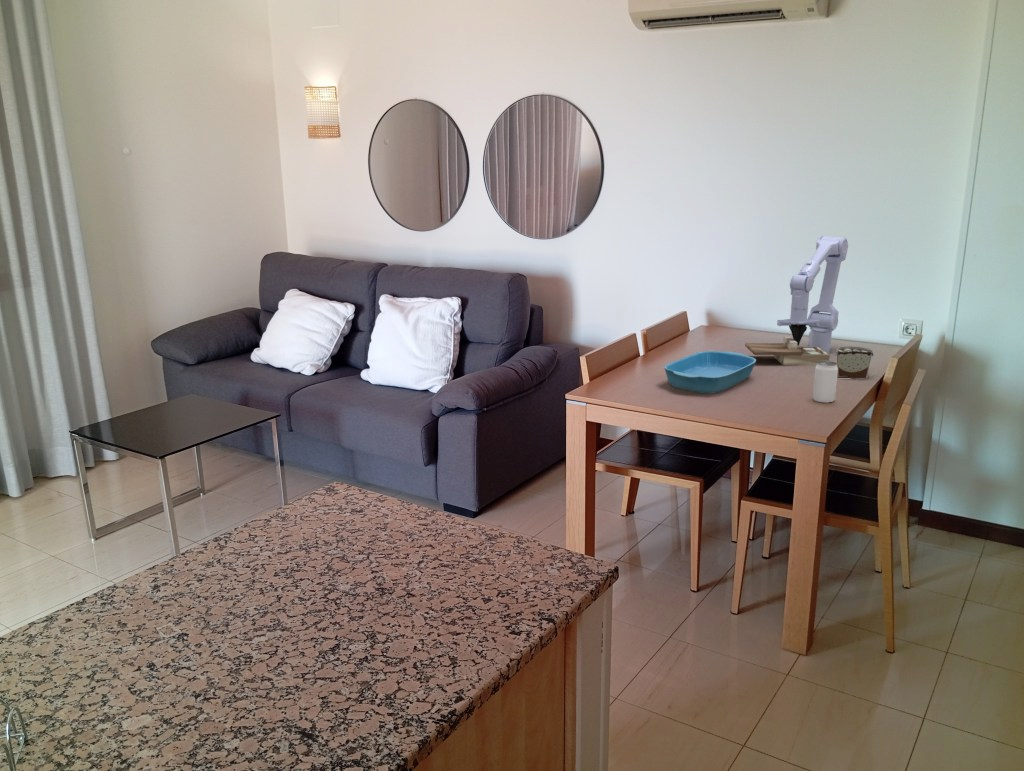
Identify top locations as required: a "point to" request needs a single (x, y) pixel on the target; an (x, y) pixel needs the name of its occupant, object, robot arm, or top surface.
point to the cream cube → (808, 350)
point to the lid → (775, 348)
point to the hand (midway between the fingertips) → (796, 345)
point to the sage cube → (812, 353)
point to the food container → (853, 361)
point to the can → (825, 381)
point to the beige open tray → (803, 358)
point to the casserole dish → (709, 371)
